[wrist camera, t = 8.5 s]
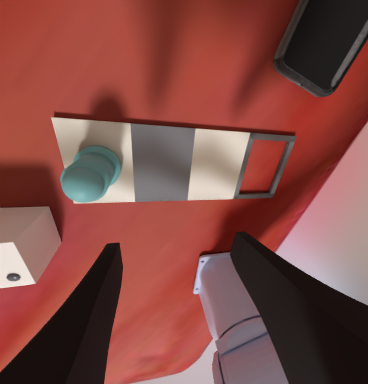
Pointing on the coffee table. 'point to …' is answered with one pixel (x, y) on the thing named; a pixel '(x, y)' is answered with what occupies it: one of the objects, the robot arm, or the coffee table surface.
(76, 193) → the pawn
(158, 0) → the coffee table surface
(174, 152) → the board
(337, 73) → the phone
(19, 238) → the die
